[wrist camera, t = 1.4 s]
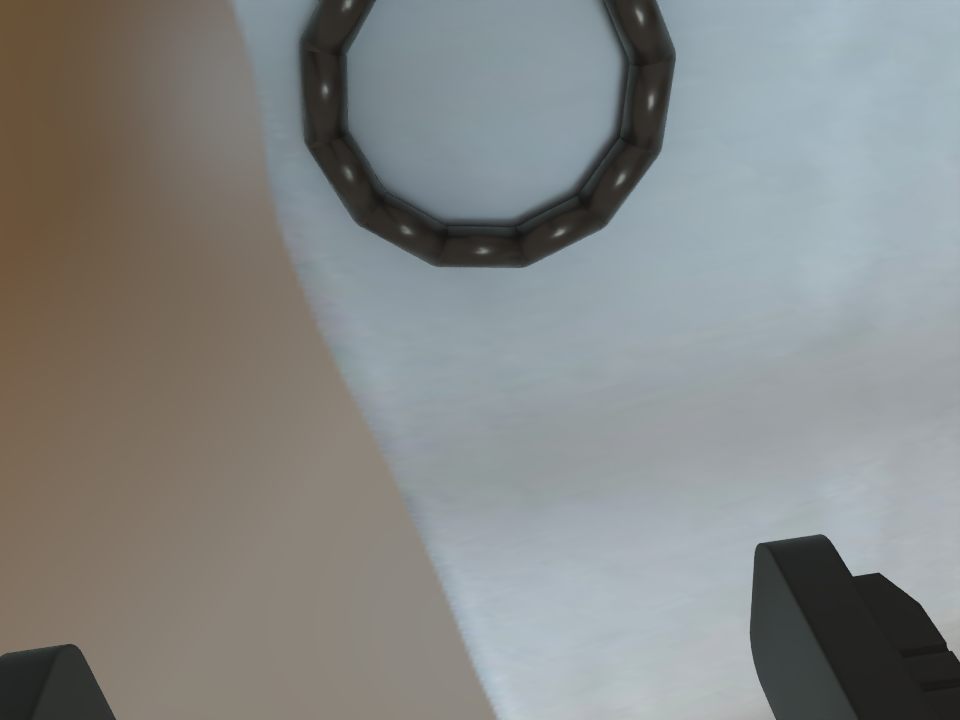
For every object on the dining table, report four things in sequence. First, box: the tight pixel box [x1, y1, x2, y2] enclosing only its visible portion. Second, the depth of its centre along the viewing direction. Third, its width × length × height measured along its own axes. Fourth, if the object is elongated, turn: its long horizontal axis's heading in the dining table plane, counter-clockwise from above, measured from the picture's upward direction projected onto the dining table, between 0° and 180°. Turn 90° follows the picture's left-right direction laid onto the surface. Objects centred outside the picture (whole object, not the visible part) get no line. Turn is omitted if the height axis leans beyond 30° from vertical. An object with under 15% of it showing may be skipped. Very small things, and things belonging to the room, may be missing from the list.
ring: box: [300, 0, 676, 268], centre depth 24 cm, size 10×10×1 cm
